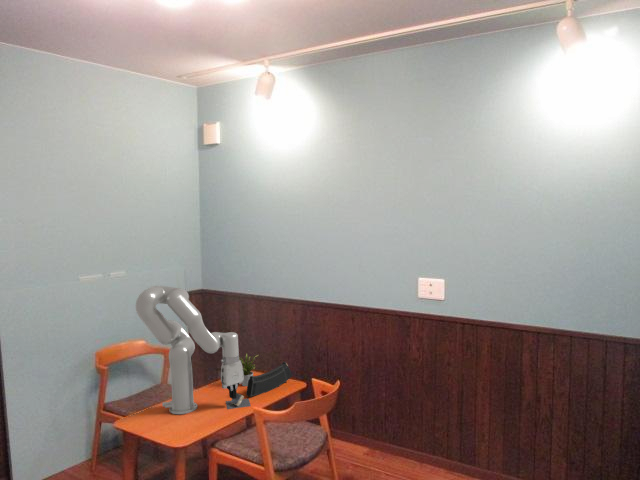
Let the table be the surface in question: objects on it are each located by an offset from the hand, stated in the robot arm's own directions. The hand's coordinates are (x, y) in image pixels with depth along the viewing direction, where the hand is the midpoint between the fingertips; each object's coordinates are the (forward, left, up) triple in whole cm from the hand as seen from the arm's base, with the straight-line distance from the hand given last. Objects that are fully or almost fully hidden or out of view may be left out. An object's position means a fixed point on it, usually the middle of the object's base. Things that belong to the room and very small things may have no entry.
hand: (233, 397), depth 230 cm
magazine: (+20, +17, -5) cm, 27 cm away
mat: (+2, +2, -4) cm, 5 cm away
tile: (+1, +1, -4) cm, 4 cm away
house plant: (+10, +28, -5) cm, 30 cm away
